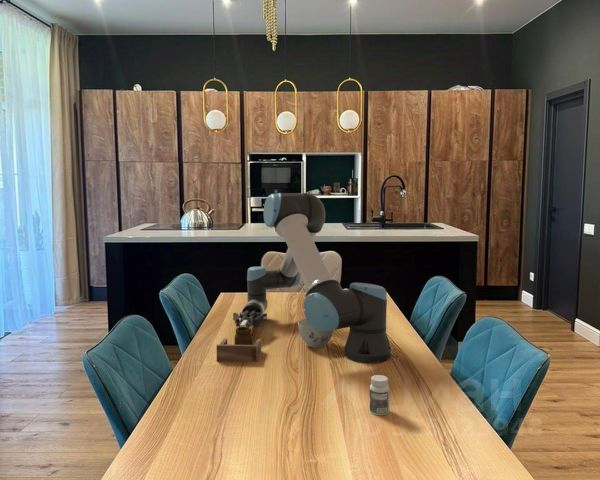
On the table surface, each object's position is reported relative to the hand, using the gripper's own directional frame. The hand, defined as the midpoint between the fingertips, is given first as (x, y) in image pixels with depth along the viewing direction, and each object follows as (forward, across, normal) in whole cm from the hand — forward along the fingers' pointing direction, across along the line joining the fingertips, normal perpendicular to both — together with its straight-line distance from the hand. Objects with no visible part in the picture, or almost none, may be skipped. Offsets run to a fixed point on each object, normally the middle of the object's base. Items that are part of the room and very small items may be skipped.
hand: (242, 328), depth 173 cm
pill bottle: (+47, -42, -6) cm, 64 cm away
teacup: (-4, -25, -6) cm, 26 cm away
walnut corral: (+9, -1, -6) cm, 11 cm away
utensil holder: (+3, -1, -6) cm, 7 cm away
